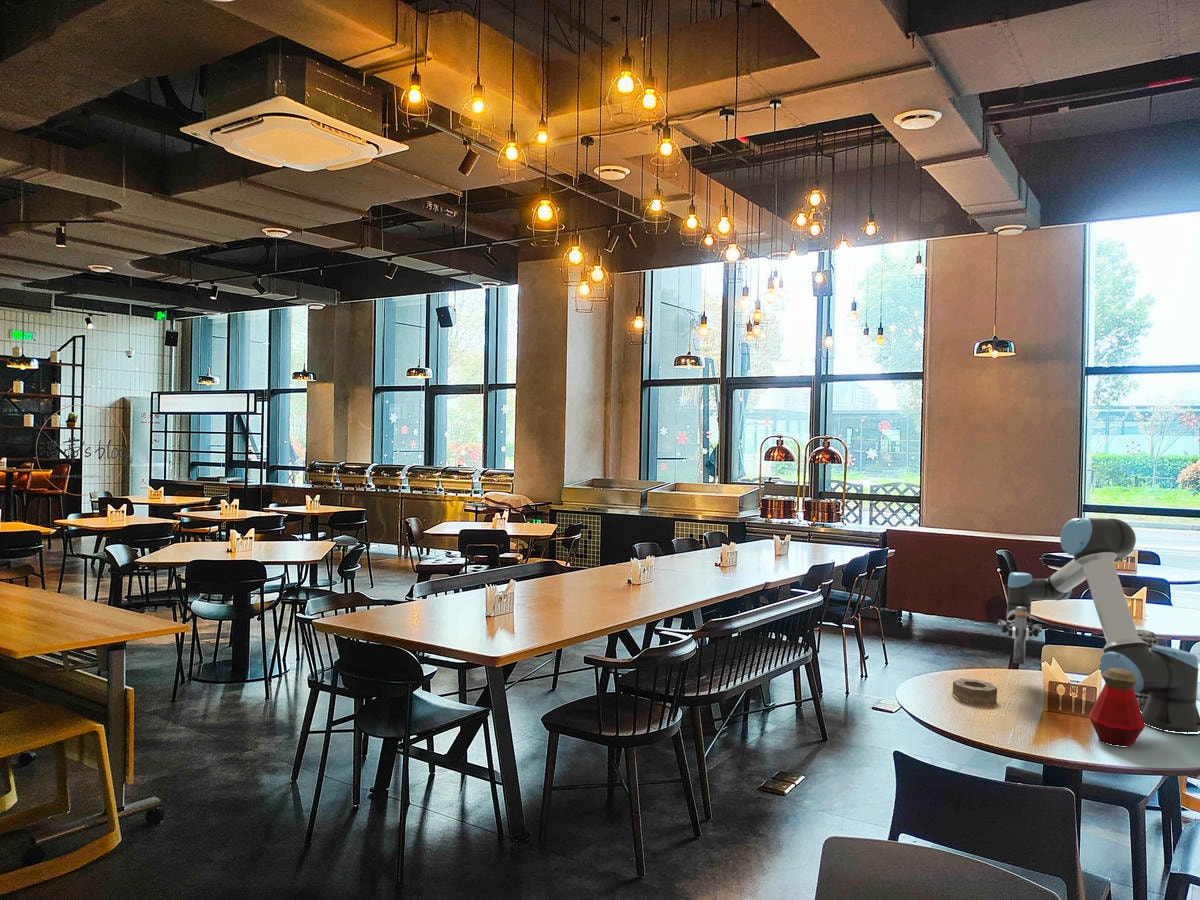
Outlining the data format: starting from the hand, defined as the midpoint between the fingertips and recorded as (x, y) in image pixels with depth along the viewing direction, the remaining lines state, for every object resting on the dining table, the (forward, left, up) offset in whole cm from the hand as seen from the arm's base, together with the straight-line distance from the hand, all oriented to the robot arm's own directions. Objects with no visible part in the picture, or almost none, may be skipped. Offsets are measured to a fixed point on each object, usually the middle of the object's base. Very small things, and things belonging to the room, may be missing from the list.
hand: (1020, 635), depth 267 cm
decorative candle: (0, -37, -22) cm, 43 cm away
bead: (+1, +13, -21) cm, 25 cm away
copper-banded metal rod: (+5, -2, -10) cm, 11 cm away
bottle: (-32, -14, -22) cm, 41 cm away
